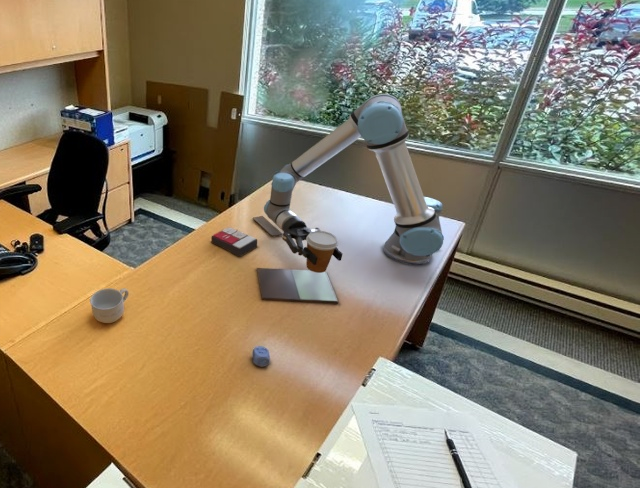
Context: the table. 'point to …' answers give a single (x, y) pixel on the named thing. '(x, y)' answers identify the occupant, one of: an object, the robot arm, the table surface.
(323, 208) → the table surface
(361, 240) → the table surface
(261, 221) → the wooden plank
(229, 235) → the red and grey box
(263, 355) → the decorative dice
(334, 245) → the disposable coffee cup
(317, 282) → the board
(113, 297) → the teacup
